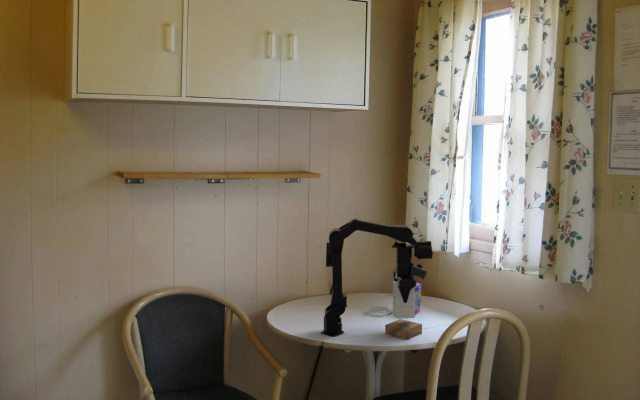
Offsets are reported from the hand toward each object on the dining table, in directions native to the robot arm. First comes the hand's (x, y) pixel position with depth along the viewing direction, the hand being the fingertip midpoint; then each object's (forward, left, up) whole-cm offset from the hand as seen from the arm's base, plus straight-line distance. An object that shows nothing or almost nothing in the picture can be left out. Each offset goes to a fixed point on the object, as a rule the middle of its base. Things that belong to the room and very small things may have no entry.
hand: (403, 300), depth 234 cm
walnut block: (0, 0, -14) cm, 14 cm away
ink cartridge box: (-14, +25, -13) cm, 32 cm away
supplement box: (0, 0, -6) cm, 6 cm away
